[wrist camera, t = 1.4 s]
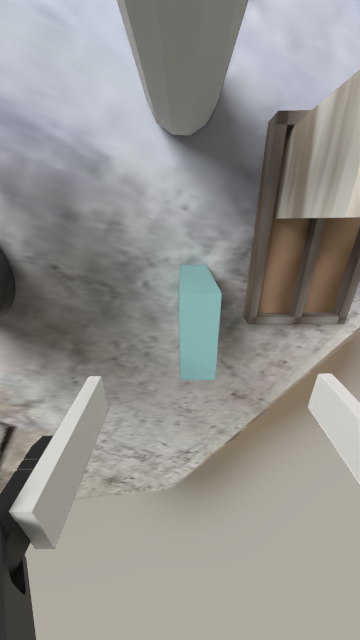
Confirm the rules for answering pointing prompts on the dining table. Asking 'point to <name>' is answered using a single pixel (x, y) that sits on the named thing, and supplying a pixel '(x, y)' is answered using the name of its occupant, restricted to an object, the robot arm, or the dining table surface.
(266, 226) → the track base
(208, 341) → the teal door
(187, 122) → the water bottle
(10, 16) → the dining table surface
